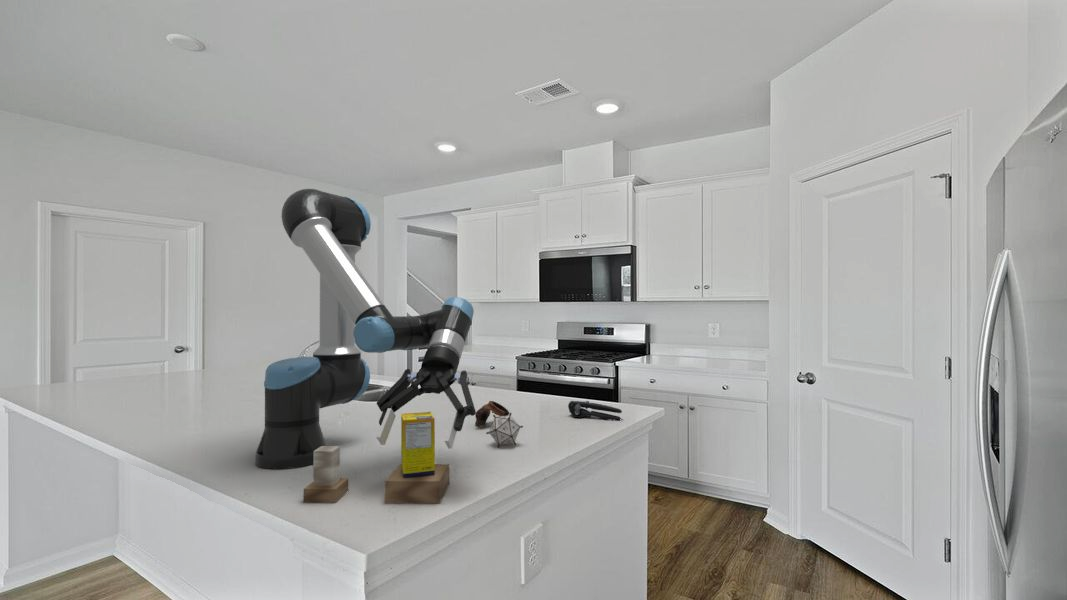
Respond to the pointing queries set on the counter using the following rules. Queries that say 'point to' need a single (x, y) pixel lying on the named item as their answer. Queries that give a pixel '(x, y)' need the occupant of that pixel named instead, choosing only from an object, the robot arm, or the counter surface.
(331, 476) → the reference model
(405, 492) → the plinth
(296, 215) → the robot arm
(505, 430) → the game die
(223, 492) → the counter surface
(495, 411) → the brown curved piece
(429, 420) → the supplement box
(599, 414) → the can opener
